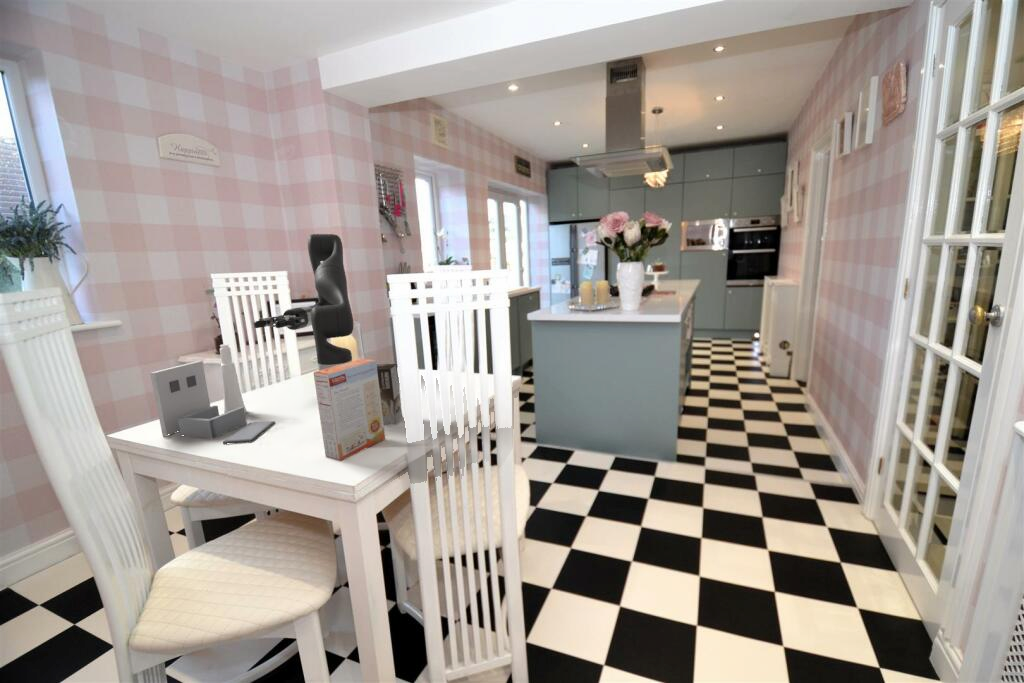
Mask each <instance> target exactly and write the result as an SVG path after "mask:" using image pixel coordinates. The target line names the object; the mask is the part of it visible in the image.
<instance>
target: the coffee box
mask: <svg viewBox="0 0 1024 683" xmlns="http://www.w3.org/2000/svg"><path fill="white" fill-rule="evenodd" d="M397 365H398V364H397V363H384V364H383V363H381V364H377V372H378V381H379V389H380V398H381V406H382V415H383V424H384V426H385V425H398V424H399V422H400V421H401V420H402V419H403V412H402V411H403V410H402V402H401V393H400V384H399V381H400V380H399V373H398V372H399V371H398V366H397Z"/></svg>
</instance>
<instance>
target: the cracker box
mask: <svg viewBox="0 0 1024 683" xmlns="http://www.w3.org/2000/svg"><path fill="white" fill-rule="evenodd" d="M313 377H314V378H313V379H314V385H315V386H314V387H315V392H316V400H317V406H318V407H317V408H318V413H319V420H320V426H321V434H322V441H323V448H324V455H325V457H327V458H331V459H332V460H333V459H334V460H338V461H340V460H341V461H342V460H346V459H348V458H349V457H351V456H354V455H355V454H357V453H359V452H361V451H364V450H365V449H367V448H370V447H371V446H373V445H375V444H377V443H380V442H382V441H384V440H385V439H386V434H385V425H384V424H383V415H382V406H381V398H380V389H379V381H378V372H377V360H375V359H366V358H360V359H356V360H352V362H348V363H345V364H341V365H338V366H334V367H330V368H327V369H323V370H316V371H314V372H313Z"/></svg>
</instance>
